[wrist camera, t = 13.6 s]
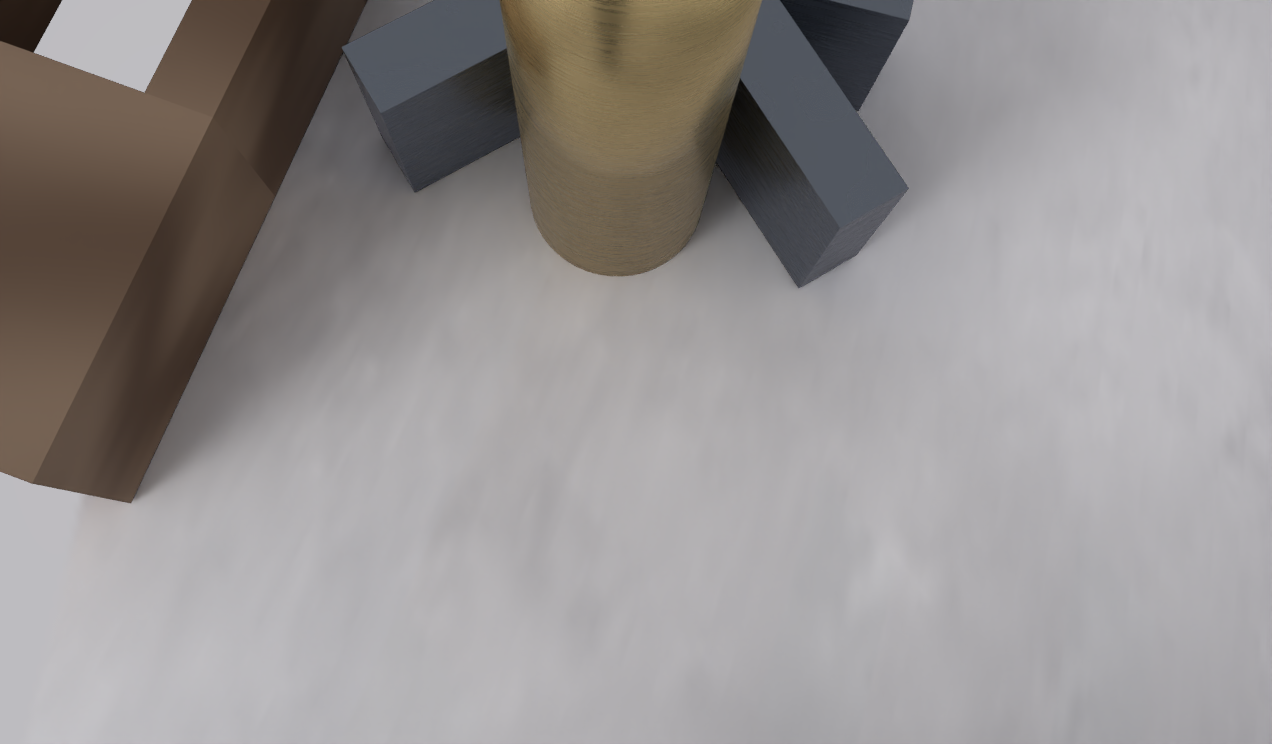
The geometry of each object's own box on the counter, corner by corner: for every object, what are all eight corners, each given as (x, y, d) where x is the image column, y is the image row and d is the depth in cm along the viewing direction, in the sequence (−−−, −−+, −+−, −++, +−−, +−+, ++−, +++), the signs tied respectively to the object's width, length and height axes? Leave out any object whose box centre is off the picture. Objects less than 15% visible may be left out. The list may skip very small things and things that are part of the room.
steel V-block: (847, 300, 24) (898, 242, 20) (366, 180, 24) (323, 99, 20) (900, 43, 25) (958, -58, 21) (448, -69, 25) (422, -191, 21)
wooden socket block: (130, 502, 22) (31, 483, 18) (-214, 374, 22) (-385, 327, 18) (388, -45, 25) (350, -164, 21) (81, -154, 25) (-12, -291, 21)
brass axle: (623, 311, 23) (669, -90, 10) (494, 197, 24) (363, -339, 10) (738, 189, 24) (930, -344, 10) (610, 81, 25) (635, -566, 11)
